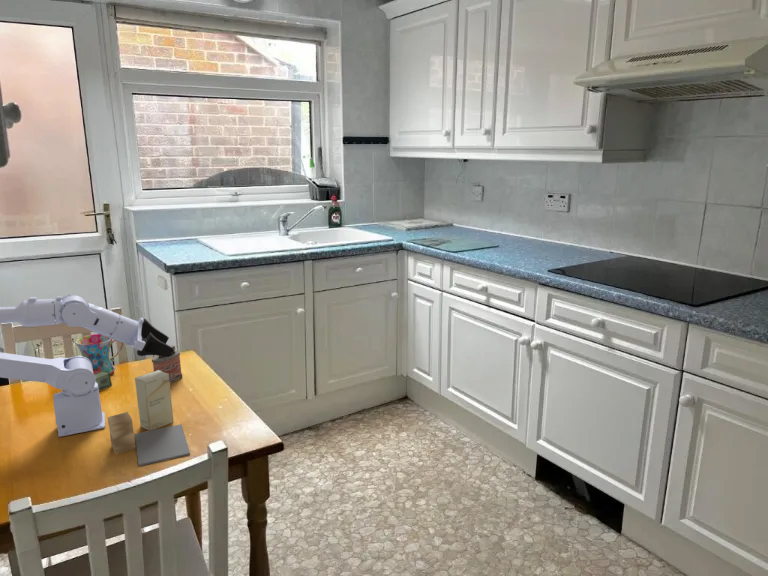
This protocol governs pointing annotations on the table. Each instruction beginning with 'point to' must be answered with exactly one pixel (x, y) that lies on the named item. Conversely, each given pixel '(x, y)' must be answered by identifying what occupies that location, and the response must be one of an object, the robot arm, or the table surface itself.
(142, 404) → the skincare box
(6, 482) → the table surface
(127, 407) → the table surface
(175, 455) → the plate
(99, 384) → the medication box
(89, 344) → the mug
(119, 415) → the oak block
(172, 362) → the reddish brown pouch
